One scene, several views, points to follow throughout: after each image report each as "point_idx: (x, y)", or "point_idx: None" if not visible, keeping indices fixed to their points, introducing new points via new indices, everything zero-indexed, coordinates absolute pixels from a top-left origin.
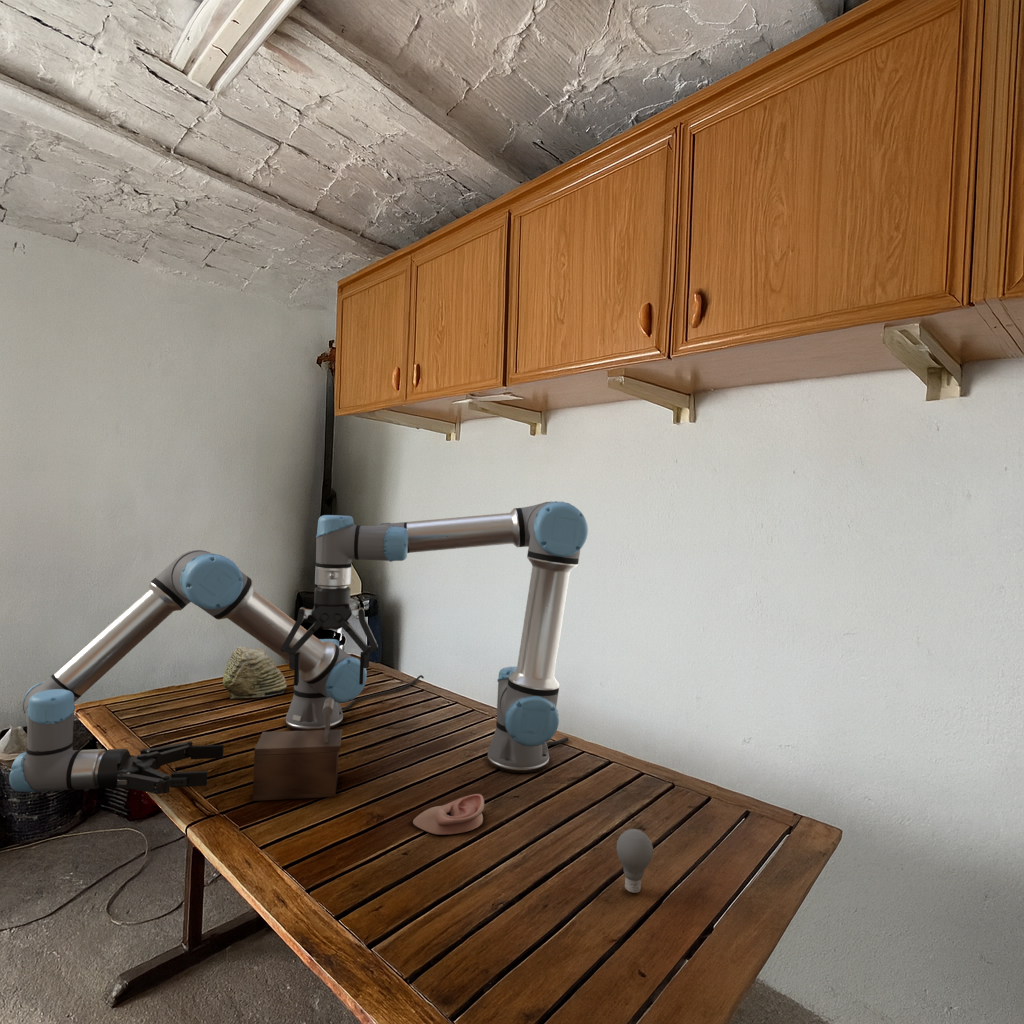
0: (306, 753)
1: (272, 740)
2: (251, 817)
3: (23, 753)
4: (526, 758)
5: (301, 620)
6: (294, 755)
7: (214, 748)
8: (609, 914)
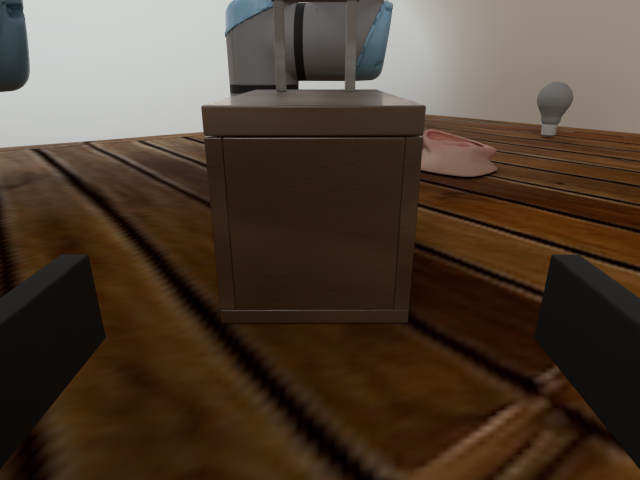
0: None
1: (324, 101)
2: (529, 313)
3: None
4: None
5: None
6: None
7: (55, 301)
8: (590, 142)
